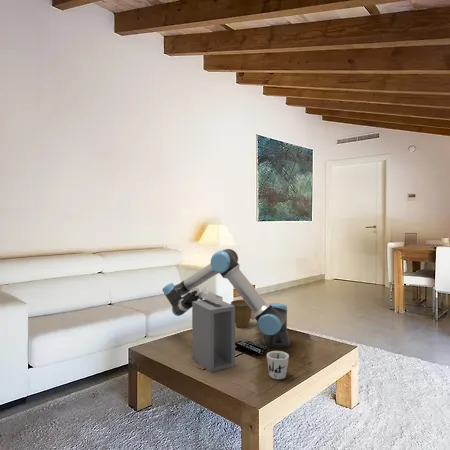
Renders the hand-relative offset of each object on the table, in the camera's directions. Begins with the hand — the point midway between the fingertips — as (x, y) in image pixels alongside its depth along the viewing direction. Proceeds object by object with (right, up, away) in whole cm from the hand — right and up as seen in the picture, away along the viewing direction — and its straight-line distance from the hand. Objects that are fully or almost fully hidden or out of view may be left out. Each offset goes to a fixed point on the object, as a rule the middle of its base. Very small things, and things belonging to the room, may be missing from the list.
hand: (203, 289), depth 199 cm
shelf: (+5, -36, -7) cm, 37 cm away
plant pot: (+22, -33, +51) cm, 65 cm away
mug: (+37, -37, -20) cm, 56 cm away
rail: (+2, -4, -3) cm, 5 cm away
